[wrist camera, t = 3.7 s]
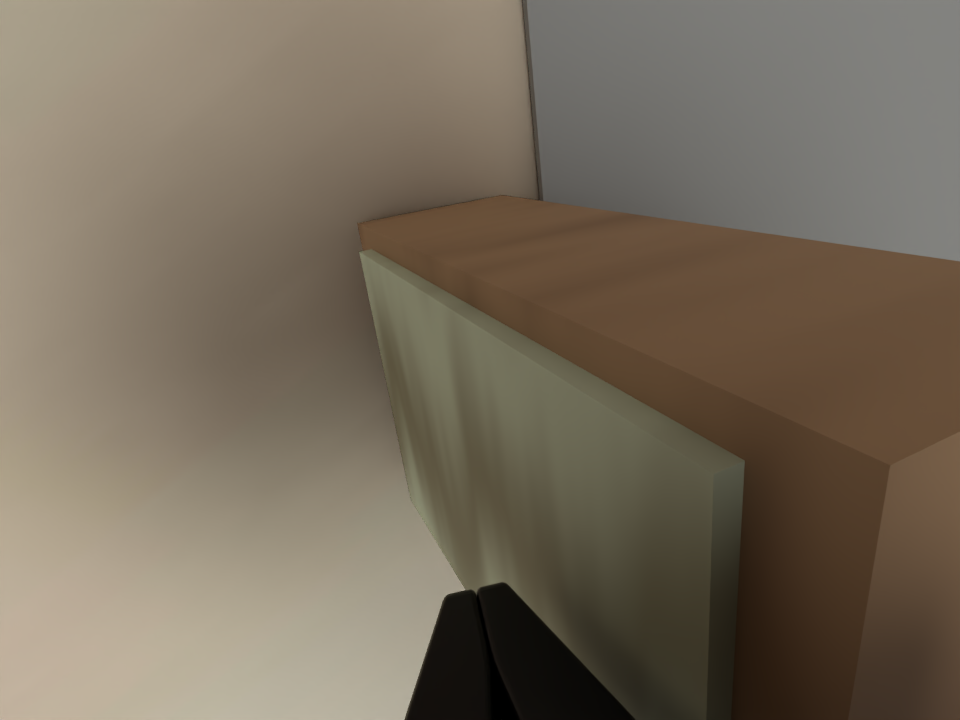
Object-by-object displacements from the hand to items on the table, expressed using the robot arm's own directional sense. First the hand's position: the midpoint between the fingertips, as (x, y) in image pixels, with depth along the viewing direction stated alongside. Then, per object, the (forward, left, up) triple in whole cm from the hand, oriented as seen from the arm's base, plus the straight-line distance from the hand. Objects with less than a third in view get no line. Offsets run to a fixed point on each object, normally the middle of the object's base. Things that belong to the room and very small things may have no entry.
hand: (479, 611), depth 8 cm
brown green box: (0, -1, -9) cm, 9 cm away
